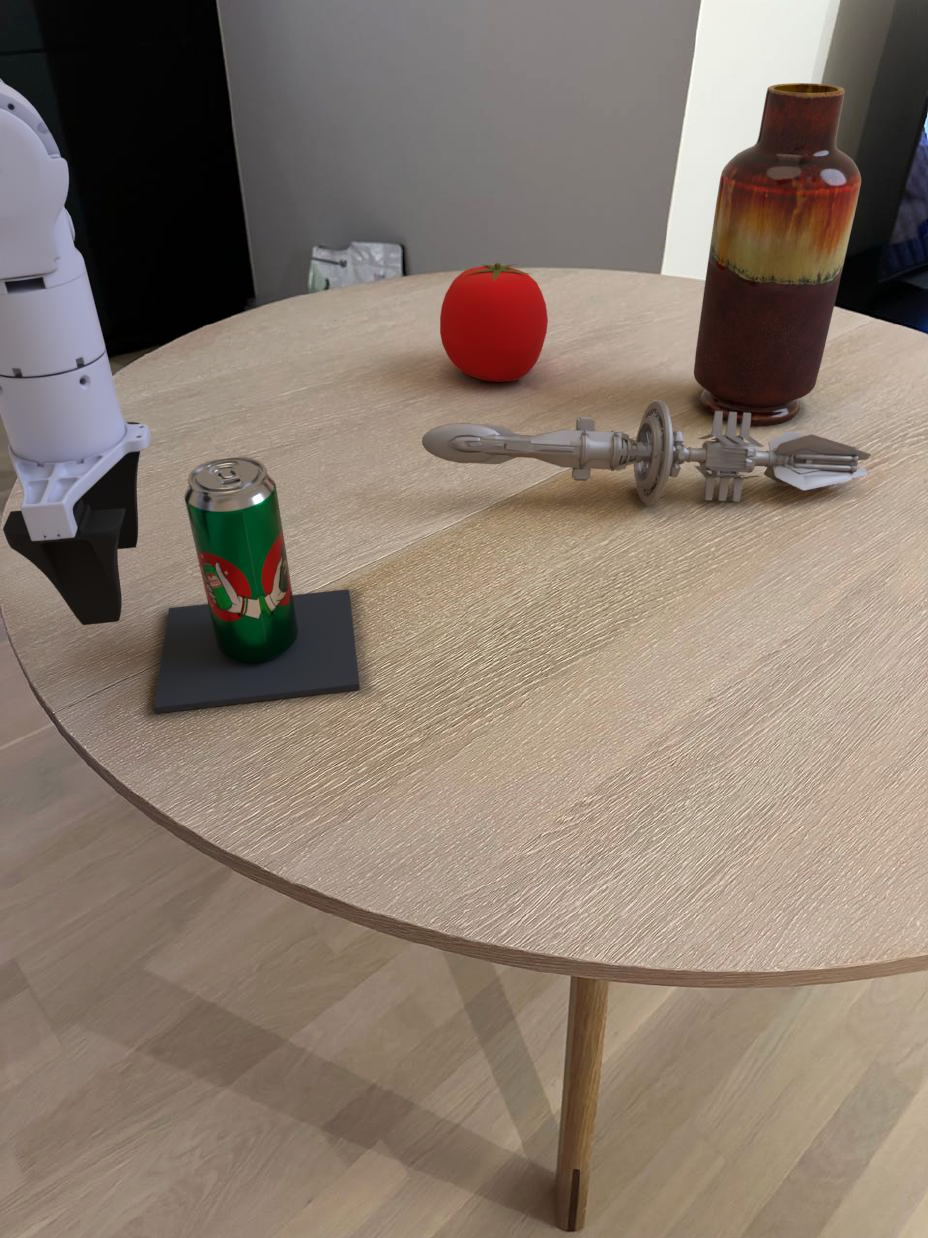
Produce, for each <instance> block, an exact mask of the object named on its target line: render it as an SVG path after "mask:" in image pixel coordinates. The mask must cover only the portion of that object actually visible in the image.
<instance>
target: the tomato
mask: <svg viewBox="0 0 928 1238" xmlns="http://www.w3.org/2000/svg"><path fill="white" fill-rule="evenodd" d="M520 264H521V262H520V263H519V265H520ZM516 265H518V263H514V264H513V263H512V264H506V265H501V263H500V262H496V263H494V264H483V265H480V266H475V267H471V268H468V269H465V270H464V271H462V272H461V273H460V274H458V275H457V276H456V277H455V278H454V279H453V281H452V282H451V284H450V285H449V287H448V288H447V290H446V291H445V294H444V297H443V300H442V304H441V308H440V314H439V315H440V316H439V334H440V339H441V344H442V346H443V349H444V351H445V354H446V355H447V357H448V359H449V360H450V362H451V363H452V364H453V366H454V367H455V368H457V369H458V370H459V371H461V372H462V373H464V374H465V375H468V376H470V377H473V378H476V379H479V380H483V381H487V382H494V383H495V382H496V383H497V382H498V383H499V382H500V383H501V382H502V383H503V382H512V381H516V380H519V379H522V378H523V377H525V376H526V375H527V374H528V373H530V372H531V370H533V368H534V366H535V365H536V363H537V362H538V360H539V358H540V356H541V353H542V350H543V347H544V344H545V341H546V337H547V333H548V324H549V323H548V322H549V318H548V309H547V303H546V300H545V297H544V295H543V291H542V289H541V287H540V286H539V284H538V281H536V280H535V279H534V278H532V276H531V275H530V273H528V272H525V271H522V270H520V269H517V268H514V267H513V266H516Z"/></svg>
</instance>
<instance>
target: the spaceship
mask: <svg viewBox="0 0 928 1238" xmlns="http://www.w3.org/2000/svg"><path fill="white" fill-rule="evenodd" d="M722 417H723V411H715V414H714V416H713V421H712V426H711V431H710V433H708V434H707V435H703V436H701V437H698V438H697V440H705V441H704V442H703V443H702V444H701V447H699V448H697V447H696V448H694V447H693V448H692V447H691V446H688V447H687V446H686V445H684V444H683V443H684V442H685V440H684V439H685V438H684V433H683V432H682V431H681V430H674V428H673V427H674V426H673V423H672V419H671V415H670V410H669V408H668V406H667V404H666V403H665V402H664V401H662V400H659V399H656V400H654V401H652V402H650V403H649V404H648V405H647V407H646V409H645V411H644V412H643V415H642V417H641V421H640V425H639V427H638V430H637V433H636V438H635V439H633V438H631V437H630V435H629V434H627V433H625V432H623V431H615V430H611V431H602V430H601V431H599V430H595V426H596V421H595V420H594V419H593V418H592V417H586V416H581V417H578V418H577V419H576V422H575V423H576V425H575V429H563V428H562V429H559V430H553V431H549V432H544V433H539V434H534V435H532V434H531V435H530V434H520V433H517V432H515V431H512V430H511V429H509V428H507V427H505V426H504V425H500V424H488V423H487V424H486V423H484V424H483V423H471V422H453V423H447V424H443V425H438V426H435V427H434V428H431V429H429V430H428V431H426V432H425V433H424V434H423V436H422V438H421V445H422V447H423V449H425V450H426V451H427V452H428V453H429V454H431V455H432V456H434V457H435V458H439V459H442V460H444V461H448V462H452V463H458V464H479V465H480V464H481V465H501V464H504V463H506V462H509V461H512V460H514V459H517V458H524V459H525V458H526V459H535V460H538V461H541V462H545V463H548V464H551V465H554V466H557V467H560V468H568V469H570V468H571V469H572V471H571V478H572V479H573V480H574V481H576V482H579V481H580V482H586V481H588V480H589V479H590V478H591V470H608V471H611V472H615V471H617V472H619V471H622V470H625V469H626V468H627V466H632V465H633V472H634V479H635V486H636V491H637V493H638V497H639V499H640V500H641V502H643V504H645V505H646V506H647V505H648V506H651V505H653V504H655V503H657V502H658V501H659V500H660V498H661V497H662V495H663V492H664V490H665V488H666V486H667V483H668V481H669V477H671V478H677V477H678V476H679V474H680V471H681V469H682V468H681V466H680V465H682V464H684V463H685V462H686V463H691V462H692V463H698V464H699V465H693V467H694V468H695V469H696V470H697V471H698V472H699V473H700V474H701V475H702V476H703V478H705V482H704V500H705V501H712V500H713V496H714V490H715V486H716V480H717V479H719V483H718V498H717V500H718V501H720V502H727V496H728V490H729V486H730V481H731V480H732V479H733V481H732V494H731V495H732V496H731V501H732V502H737V503H738V502H740V501H741V496H742V492H743V485H744V482H745V480H748V479H753V478H754V479H755V478H758V477H759V478H760V475H748V476H747V475H745V474H740V473H752V472H753V471H754V470H755V468H756V467H764V468H765V470H764V472H763V475H764V476H766V478H769V479H770V480H772V481H774V482H775V483H776V484H779V485H780V486H786V485H790V486H792V487H794V488H796V489H798V490H800V491H802V492H806V491H810V490H815V489H819V488H824V487H828V486H834V485H837V484H842V483H847V482H850V481H851V480H855V479H857V478H862V477H867V476H868V474H869V473H868V470H867V469H866V468H864V467H860V466H858V462H859V461H865V460H868V459H869V458H871V456H872V455H871V453H870V452H866V451H863V450H860V448H859V447H856V446H852V445H849V444H847V443H843V442H840V441H837V440H834V439H830V438H827V437H824V436H820V435H817V434H815V433H810V434H802V433H799V432H795V431H792V430H788V431H786V432H784V433H782V434H780V435H778V436H776V437H774V438H772V439H769V440H768V441H767V444H768V449H769V450H758V448H765V446H764V445H763V444H762V443H760V442H759V441H757V440H756V439H754V437H753V436H750V435H751V425H750V423H751V413H743V417H742V423H741V424H740V429H739V432H738V435H736V434H737V423H736V421H737V412H729V416H728V421H726V427H725V433H724V434H722V433H723V420H722ZM710 438H711V439H710ZM707 439H710V440H707ZM744 440H746V441H747V442H745V441H744ZM710 472H711V473H710Z"/></svg>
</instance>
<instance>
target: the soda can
mask: <svg viewBox="0 0 928 1238" xmlns="http://www.w3.org/2000/svg"><path fill="white" fill-rule="evenodd" d="M187 484H188V486H187V488H186V490H185V493H184V503H185V507H186V511H187V517H188V520H189V525H190V530H191V534H192V538H193V543H194V549H195V551H196V556H197V560H198V566H199V569H200V575H201V579H202V582H203V588H204V593H205V596H206V601H207V604H208V606H209V610H210V615H211V619H212V624H213V628H214V633H215V637H216V642H217V645H218V648H219V649H220V651H221V652H222V653H223V654H225V655H226V656H228V657H230V658H231V659H234V660H236V661H239V662H242V663H251V664H253V663H263V662H267V661H270V660H273V659H275V658H278V657H279V656H281V655H283V654H284V653H285V652H286V651H287V650H288V649H289V648H290V647H291V646H292V645H293V643H294V642H295V640H296V638H297V636H298V626H297V620H296V613H295V607H294V600H293V595H294V594H293V587H292V582H291V575H290V568H289V562H288V556H287V548H286V543H285V536H284V530H283V524H282V517H281V511H280V505H279V504H280V503H279V498H278V491H277V485H276V482H275V480H274V479H273V478H272V477H271V476H270V475H269V474H268V469H267V467H266V465H265V464H264V463H263V462H261V461H259V460H258V459H256V458H252V457H248V456H236V455H235V456H224V457H218V458H215V459H211V460H207V461H204V462H203V463H201V464H198V465H197V466H196V467H195V468H193V469H192V470H191V471H190V472H189V474H188V477H187Z"/></svg>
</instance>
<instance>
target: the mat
mask: <svg viewBox="0 0 928 1238" xmlns="http://www.w3.org/2000/svg"><path fill="white" fill-rule="evenodd" d="M293 600H294V607H295V613H296V620H297V626H298V636H297V638H296V640H295V642H294V643H293V645H292V646H291V647H290V648H289V649H288V650H287V651H286V652H285V653H284V654H283V655H281V656H279V657H278V658H275V659H273V660H270V661H267V662H263V663H253V664H251V663H242V662H239V661H236V660H234V659H231V658H230V657H228V656H226V655H225V654H223V653H222V652H221V651H220V649H219V648H218V645H217V642H216V637H215V633H214V628H213V624H212V619H211V615H210V610H209V606H208V603H205V604H194V605H186V606H185V605H184V606H174V607H169V608H168V611H167V619H166V623H165V625H166V626H165V632H164V638H163V644H162V652H161V656H160V658H161V659H160V663H159V670H158V676H157V683H156V689H155V695H154V701H153V711H154V713H155V714H162V713H164V714H165V713H173V712H180V711H188V710H197V709H206V708H214V707H223V706H230V705H238V704H239V705H240V704H248V703H257V702H265V701H274V700H283V699H291V698H298V697H307V696H308V697H309V696H315V695H316V696H317V695H324V694H334V693H342V692H343V693H344V692H351V691H359V690H360V689H361V687H360V686H361V685H360V677H359V668H358V659H357V658H358V657H357V651H356V649H357V648H356V640H355V633H354V632H355V631H354V624H353V613H352V605H351V595H350V589H348V588H347V589H337V590H329V591H319V592H318V591H317V592H309V593H300V594H299V593H298V594H293Z"/></svg>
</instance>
